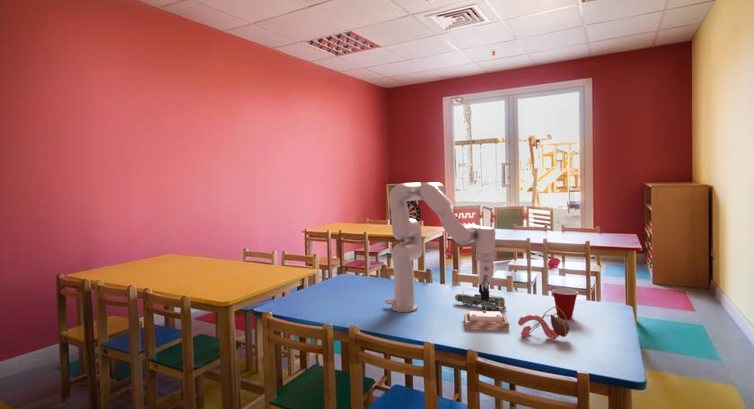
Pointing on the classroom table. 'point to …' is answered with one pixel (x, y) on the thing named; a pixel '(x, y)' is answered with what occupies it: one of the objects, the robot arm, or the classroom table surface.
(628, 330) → the classroom table surface
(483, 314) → the pale pink knobbed block
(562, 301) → the plastic cup
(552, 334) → the anatomy model
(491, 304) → the hoverbike
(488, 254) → the robot arm
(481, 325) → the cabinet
